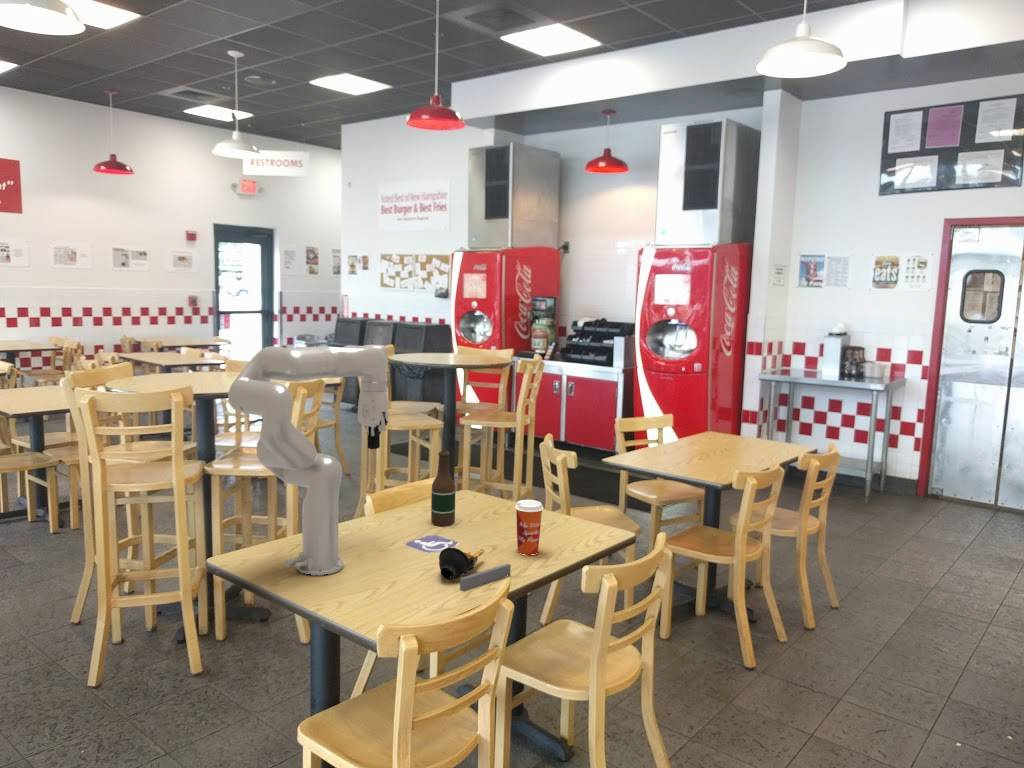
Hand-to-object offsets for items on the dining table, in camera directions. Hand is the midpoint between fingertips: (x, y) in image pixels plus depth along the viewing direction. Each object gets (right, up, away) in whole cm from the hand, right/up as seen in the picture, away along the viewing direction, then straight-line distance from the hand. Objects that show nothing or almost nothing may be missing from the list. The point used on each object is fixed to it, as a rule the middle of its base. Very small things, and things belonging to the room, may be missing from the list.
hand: (373, 448), depth 225 cm
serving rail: (+34, -34, -24) cm, 53 cm away
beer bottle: (+18, -27, +24) cm, 41 cm away
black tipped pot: (+28, -33, -17) cm, 46 cm away
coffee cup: (+46, -31, 0) cm, 55 cm away
